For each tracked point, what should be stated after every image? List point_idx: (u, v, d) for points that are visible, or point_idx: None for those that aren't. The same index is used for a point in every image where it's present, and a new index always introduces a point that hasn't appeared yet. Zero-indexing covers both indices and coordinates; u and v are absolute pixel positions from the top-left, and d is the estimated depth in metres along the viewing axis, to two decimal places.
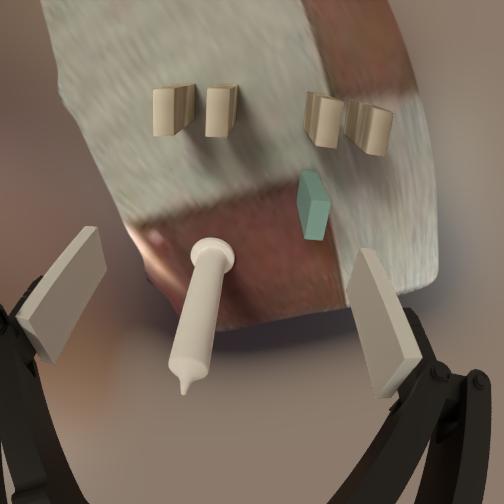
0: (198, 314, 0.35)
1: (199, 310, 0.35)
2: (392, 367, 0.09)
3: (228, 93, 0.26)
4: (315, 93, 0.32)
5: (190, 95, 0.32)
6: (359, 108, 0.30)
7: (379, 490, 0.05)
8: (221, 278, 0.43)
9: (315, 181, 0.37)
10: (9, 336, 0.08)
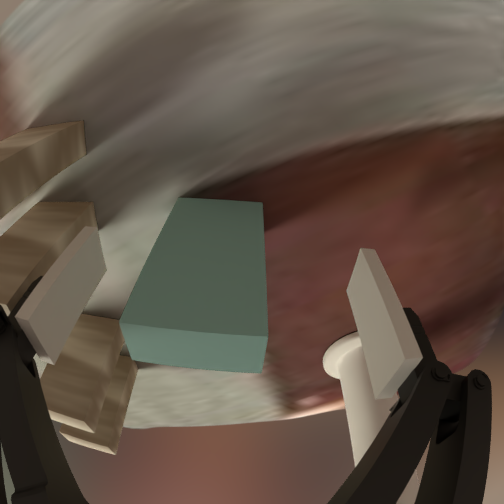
0: None
1: None
2: (392, 367, 0.09)
3: None
4: None
5: None
6: None
7: (379, 490, 0.05)
8: (375, 401, 0.19)
9: None
10: (9, 336, 0.08)
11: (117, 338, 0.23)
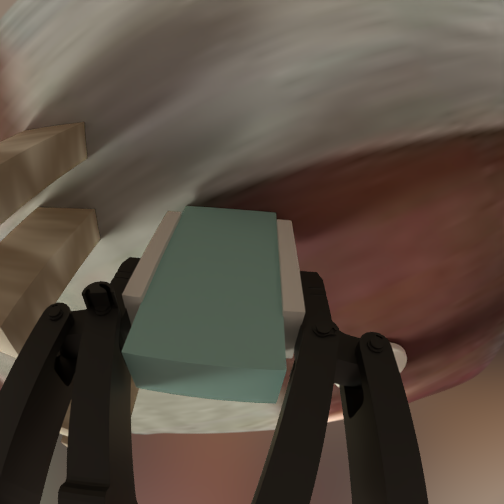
0: None
1: None
2: None
3: None
4: None
5: None
6: None
7: (294, 461, 0.06)
8: None
9: None
10: (112, 320, 0.09)
11: None
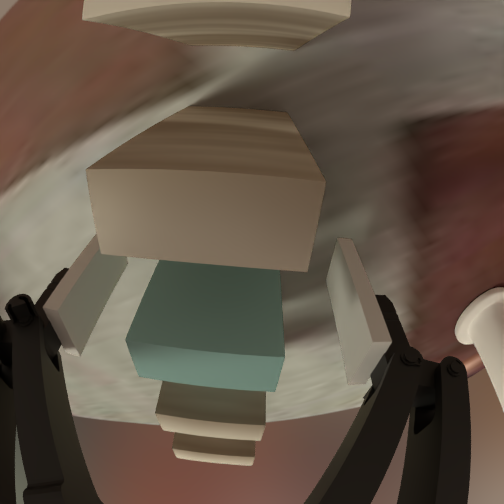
0: None
1: None
2: (362, 351, 0.10)
3: (165, 416, 0.12)
4: None
5: None
6: (178, 34, 0.08)
7: (358, 480, 0.05)
8: None
9: None
10: (35, 329, 0.08)
11: None
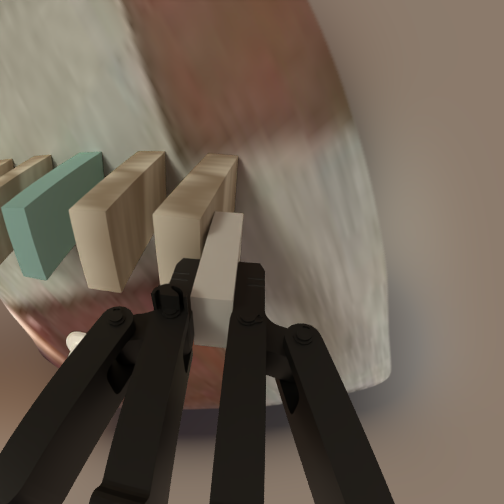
0: None
1: None
2: None
3: None
4: (134, 160, 0.19)
5: None
6: None
7: (238, 453, 0.06)
8: None
9: (66, 169, 0.17)
10: (180, 326, 0.09)
11: None
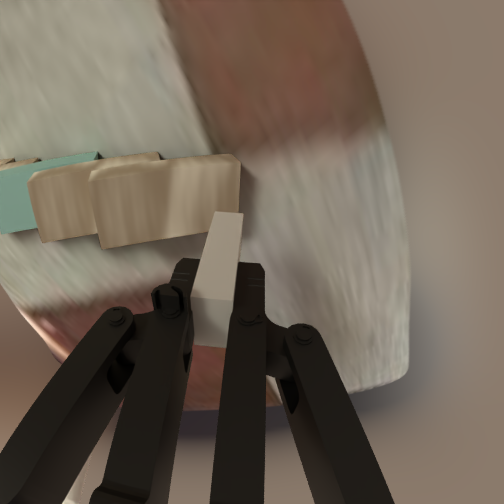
0: None
1: None
2: None
3: None
4: (127, 157, 0.20)
5: None
6: None
7: (238, 454, 0.06)
8: None
9: (48, 164, 0.19)
10: (180, 326, 0.09)
11: None
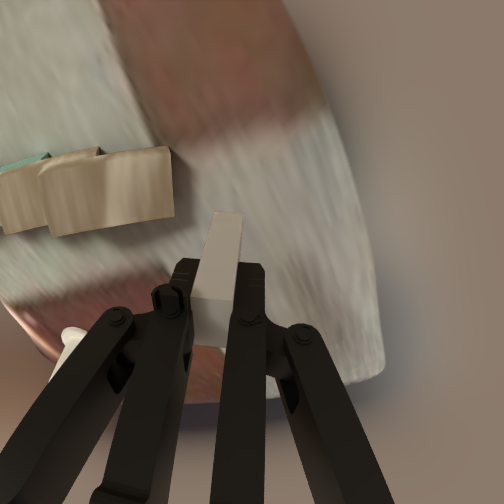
0: None
1: None
2: None
3: None
4: (71, 154, 0.20)
5: None
6: None
7: (238, 453, 0.06)
8: None
9: (6, 167, 0.19)
10: (180, 326, 0.09)
11: None
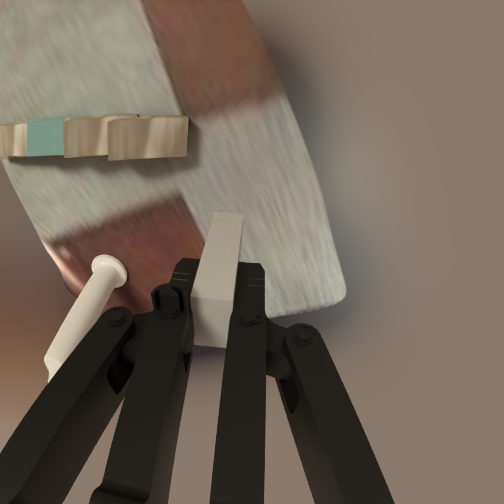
0: (71, 323, 0.36)
1: (73, 320, 0.36)
2: None
3: None
4: (120, 115, 0.33)
5: None
6: None
7: (238, 453, 0.06)
8: (105, 292, 0.44)
9: None
10: (180, 326, 0.09)
11: None
